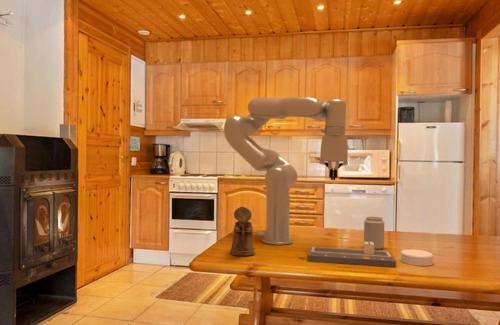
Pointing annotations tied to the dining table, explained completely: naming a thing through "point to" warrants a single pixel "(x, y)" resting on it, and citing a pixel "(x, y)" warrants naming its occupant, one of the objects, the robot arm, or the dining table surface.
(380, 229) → the can
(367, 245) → the cap
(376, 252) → the dark grey tray
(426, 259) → the white cheese wheel
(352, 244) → the dining table surface
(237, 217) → the brown bell figurine
